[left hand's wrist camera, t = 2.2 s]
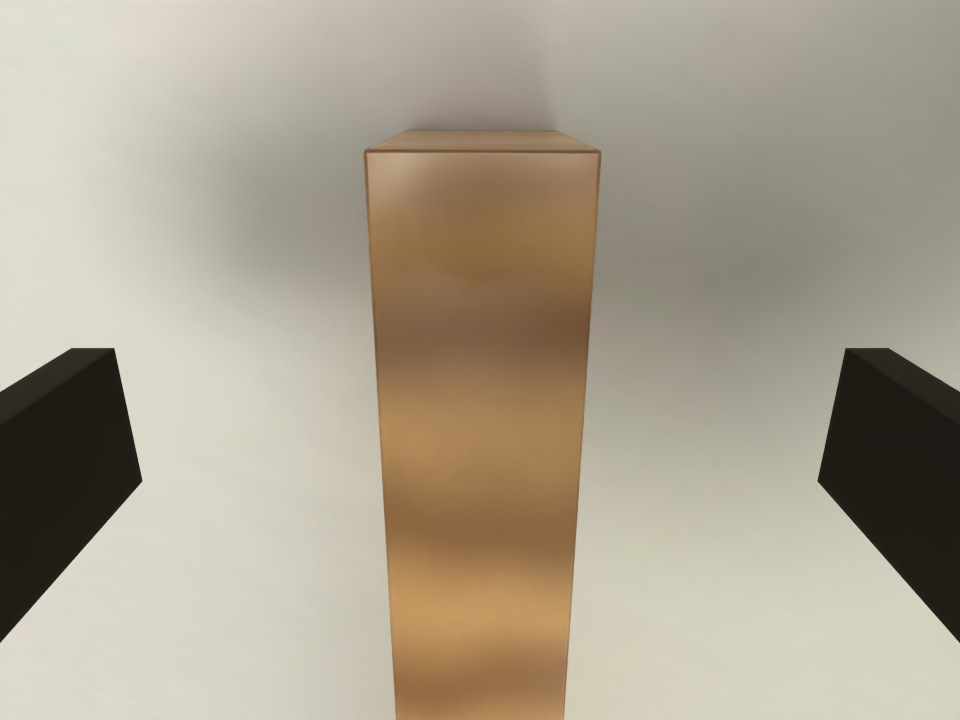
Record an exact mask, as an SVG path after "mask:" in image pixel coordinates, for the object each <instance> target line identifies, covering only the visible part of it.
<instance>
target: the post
mask: <svg viewBox="0 0 960 720" xmlns="http://www.w3.org/2000/svg"><path fill="white" fill-rule="evenodd" d="M600 166H601V151H600V150H597V149H595V148H593V147H591V146H588V145H586V144H584V143H582V142H579V141H577V140H575V139H573V138H570V137H568V136H566V135H563V134H561V133H559V132H557V131H405V132H403V133H401V134H399V135H397V136H394V137H392V138H390V139H388V140H386V141H383V142H381V143H379V144H377V145H374V146H372V147H370V148H368V149H366V150H364V167H365V185H366V202H367V219H368V237H369V254H370V272H371V289H372V307H373V324H374V342H375V359H376V377H377V394H378V412H379V429H380V447H381V464H382V482H383V499H384V517H385V534H386V551H387V569H388V586H389V604H390V621H391V639H392V656H393V674H394V691H395V709H396V720H564V708H565V693H566V678H567V663H568V647H569V632H570V617H571V602H572V587H573V572H574V557H575V542H576V527H577V512H578V497H579V482H580V467H581V452H582V437H583V422H584V407H585V392H586V377H587V362H588V347H589V332H590V317H591V302H592V287H593V271H594V256H595V241H596V226H597V211H598V196H599V181H600Z"/></svg>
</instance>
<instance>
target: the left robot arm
mask: <svg viewBox="0 0 960 720" xmlns="http://www.w3.org/2000/svg"><path fill="white" fill-rule="evenodd" d="M141 482H142V477H141V472H140V467H139V463H138V458H137V453H136V448H135V444H134V439H133V434H132V430H131V425H130V420H129V415H128V411H127V406H126V401H125V397H124V392H123V387H122V382H121V378H120V373H119V368H118V364H117V359H116V354H115V349H114V348H71V349H70V350H68V351H66V352H65V353H63V354H61V355H60V356H58V357H56V358H55V359H53V360H52V361H50V362H48V363H47V364H45V365H43V366H42V367H40V368H39V369H37V370H35V371H34V372H32V373H30V374H29V375H27V376H26V377H24V378H22V379H21V380H19V381H17V382H16V383H14V384H12V385H11V386H9V387H8V388H6V389H4V390H3V391H1V392H0V643H1V641H2V640H3V639H4V638H5V637H6V636H7V635H8V633H9V632H10V631H11V630H12V629H13V628H14V627H15V625H16V624H17V623H18V622H19V621H20V620H21V619H22V618H23V616H24V615H25V614H26V613H27V612H28V611H29V610H30V608H31V607H32V606H33V605H34V604H35V603H36V602H37V600H38V599H39V598H40V597H41V596H42V595H43V594H44V593H45V591H46V590H47V589H48V588H49V587H50V586H51V585H52V583H53V582H54V581H55V580H56V579H57V578H58V577H59V575H60V574H61V573H62V572H63V571H64V570H65V569H66V568H67V566H68V565H69V564H70V563H71V562H72V561H73V560H74V558H75V557H76V556H77V555H78V554H79V553H80V552H81V550H82V549H83V548H84V547H85V546H86V545H87V544H88V543H89V541H90V540H91V539H92V538H93V537H94V536H95V535H96V533H97V532H98V531H99V530H100V529H101V528H102V527H103V525H104V524H105V523H106V522H107V521H108V520H109V519H110V518H111V516H112V515H113V514H114V513H115V512H116V511H117V510H118V508H119V507H120V506H121V505H122V504H123V503H124V502H125V500H126V499H127V498H128V497H129V496H130V495H131V494H132V493H133V491H134V490H135V489H136V488H137V487H138V486H139V485H140V483H141ZM818 482H819V483H820V485H821V486H822V487H823V488H824V489H825V490H826V491H827V493H828V494H829V495H830V496H831V497H832V498H833V499H834V500H835V502H836V503H837V504H838V505H839V506H840V507H841V508H842V510H843V511H844V512H845V513H846V514H847V515H848V516H849V518H850V519H851V520H852V521H853V522H854V523H855V524H856V525H857V527H858V528H859V529H860V530H861V531H862V532H863V533H864V535H865V536H866V537H867V538H868V539H869V540H870V541H871V543H872V544H873V545H874V546H875V547H876V548H877V549H878V550H879V552H880V553H881V554H882V555H883V556H884V557H885V558H886V560H887V561H888V562H889V563H890V564H891V565H892V566H893V568H894V569H895V570H896V571H897V572H898V573H899V574H900V575H901V577H902V578H903V579H904V580H905V581H906V582H907V583H908V585H909V586H910V587H911V588H912V589H913V590H914V591H915V593H916V594H917V595H918V596H919V597H920V598H921V599H922V600H923V602H924V603H925V604H926V605H927V606H928V607H929V608H930V610H931V611H932V612H933V613H934V614H935V615H936V616H937V618H938V619H939V620H940V621H941V622H942V623H943V624H944V625H945V627H946V628H947V629H948V630H949V631H950V632H951V633H952V635H953V636H954V637H955V638H956V639H957V640H958V641H959V643H960V392H959V391H957V390H956V389H954V388H952V387H951V386H949V385H948V384H946V383H944V382H943V381H941V380H939V379H938V378H936V377H934V376H933V375H931V374H930V373H928V372H926V371H925V370H923V369H921V368H920V367H918V366H917V365H915V364H913V363H912V362H910V361H908V360H907V359H905V358H904V357H902V356H900V355H899V354H897V353H895V352H894V351H892V350H890V349H889V348H846V349H845V354H844V359H843V364H842V368H841V373H840V378H839V382H838V387H837V392H836V397H835V401H834V406H833V411H832V415H831V420H830V425H829V430H828V434H827V439H826V444H825V448H824V453H823V458H822V463H821V467H820V472H819V477H818Z"/></svg>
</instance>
